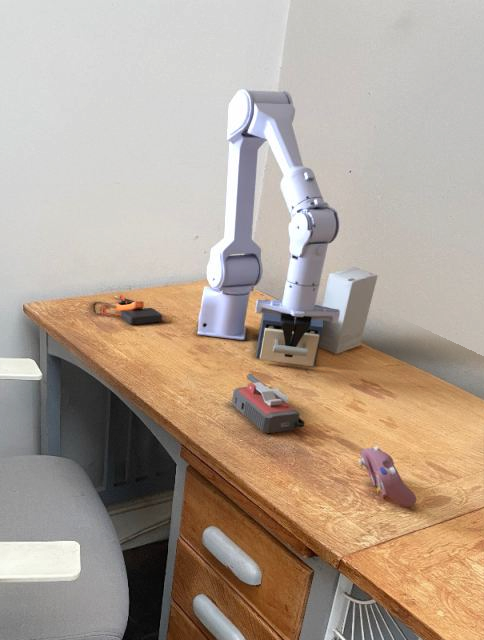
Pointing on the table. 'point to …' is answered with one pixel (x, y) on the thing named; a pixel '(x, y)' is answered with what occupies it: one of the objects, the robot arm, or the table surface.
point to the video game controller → (386, 476)
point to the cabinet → (275, 320)
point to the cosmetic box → (347, 308)
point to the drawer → (288, 347)
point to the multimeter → (135, 312)
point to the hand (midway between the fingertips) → (288, 355)
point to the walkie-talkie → (266, 407)
